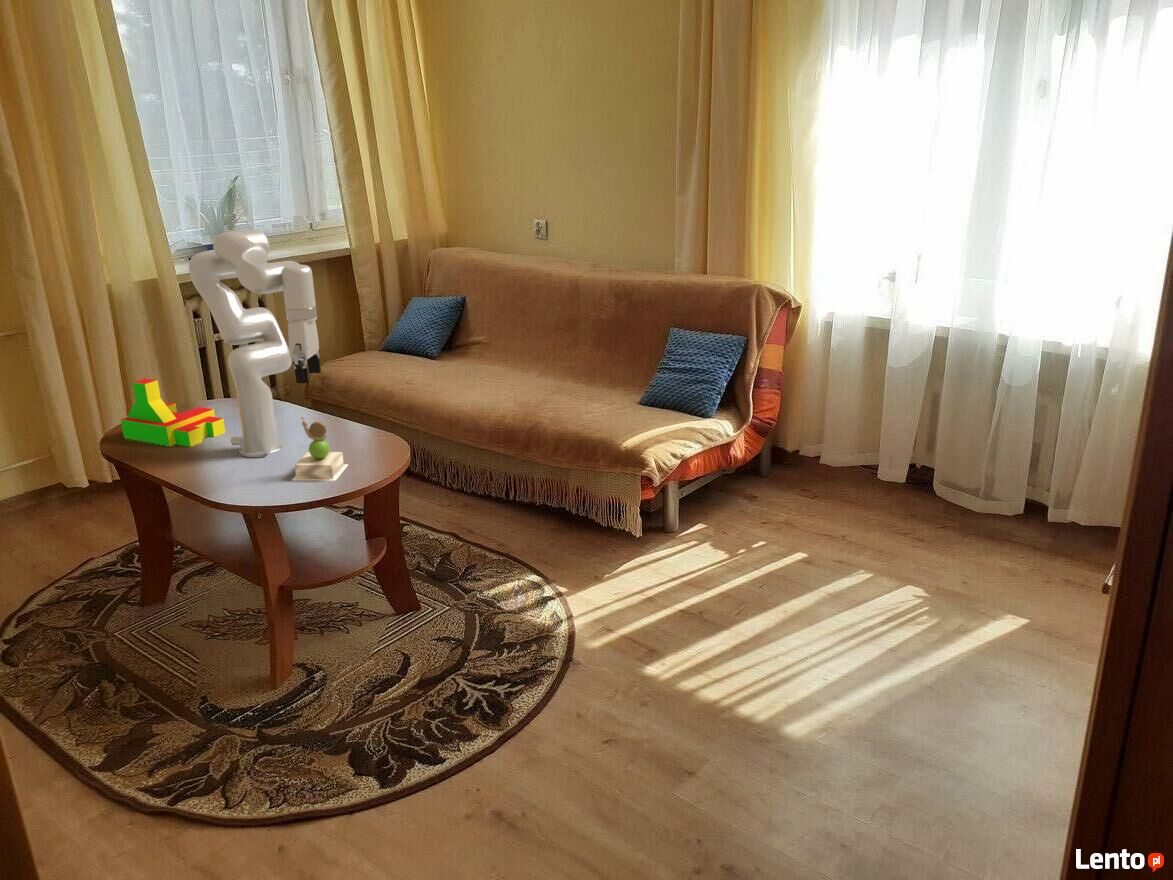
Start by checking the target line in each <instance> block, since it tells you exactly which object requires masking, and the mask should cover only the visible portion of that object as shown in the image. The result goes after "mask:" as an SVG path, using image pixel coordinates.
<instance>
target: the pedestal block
mask: <svg viewBox="0 0 1173 880" xmlns="http://www.w3.org/2000/svg"><path fill="white" fill-rule="evenodd" d="M344 463H345V462H344V455H343V452H342V451H329V453H328V455H327V456H326V457H325V458H322V459H316V458H314V457H312V456H311V454H310V452H309V451H307V452H305V454H303V455H302V457H301V458H300V459H299V460H298V461H297V462H296V463H295V464H294V471H295V476H296V479H333V478H334V477H335V476H336V475H337V474H338V472H339V471H340V470H341V469H342V467H343V466H344Z"/></svg>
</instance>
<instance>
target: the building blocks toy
mask: <svg viewBox="0 0 1173 880" xmlns="http://www.w3.org/2000/svg"><path fill="white" fill-rule="evenodd" d="M132 387H133V392H134V393H133V394H134V399H135V401H134V403H133V405H132V407H131V410H129V412H128V414H127V416H126V417H124V418H121V419H120V424H121V428H122V429H121V430H122V434H123V439H124V438H129V439H135V440H140V441H145V442H150V443H149V444H151V443H155V444H154V445H157V444H160V445H159V446H162V445H165V446H164V447H168V446H170V447H173V446H176V445H177V444H178V446H184V447H194V446H196V445H198V444H201V443H203V439H204V438H207V437H211V438H216V437H219V436H221V435H223V434H225V433H226V426H225V420H224V418H222V417H216V414H215V409H214V408H209V407H201V406H198V407H196V408H194V409H191V410H188V411H187V410H186V411H185V412H178V410H177V405H176V404H177V403H175V402H167V403H165V402H164V401H163V399H162V398H161V391H160V386H159V381H158V380H157V379H151V378H142V379H139V380H136V381H133V382H132ZM145 442H144V443H145ZM175 444H176V445H175Z"/></svg>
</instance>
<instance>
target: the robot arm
mask: <svg viewBox="0 0 1173 880" xmlns="http://www.w3.org/2000/svg"><path fill="white" fill-rule="evenodd" d="M212 247H213V249H210V250H204V251H201V252H198V253H196V254H194V255H193V256H192V257H190V260H189V263H188V272H189V276H190V278H191V282H192V284H193V286H194V288H195V289H196V291H197V292H198V293H199V295H200V296H201V297H202V298H203V300H204V301H205V303H206V305H207V307H208V309H209V311H210V314H211V316H212V318H213V320H214V322H215V324H216V327H217V330H218V331H219V333H220V336H221V337H222V339H223V340H224V341H225V342H224V343H226V344H228V345H230V346H237V345H242V344H243V346H240V347H237V348H234V349H232V351H231V352H230V354H229V355H228V357H227V358H228V359H227V362H228V363H227V364H228V367H229V370H230V373H231V376H232V380H233V384H234V387H235V392H236V398H237V403H238V413H239V419H240V427H241V430H242V431H241V433H242V435H241V436H231V437H230V443H231V445H232V446H240V447H239V454H240V455H241V456H243V457H247V458H264V457H266V456H268V455H269V454H270V453H274V452H278V451H280V450H281V449H282V448H285V443H284V442H283V441H281V440H279V438H278V429H277V423H276V416H275V415H276V414H275V408H274V400H273V393H272V390H271V388H270V387H269V386H268V385H267V383H265V382H264V381H263V379H262V378H265V377H267V376H271V375H276V374H280V373H283V372H287V371H288V370H289V369H290V368H291V366H292V364H293V369H294V373H295V374H294V376H295V381H296V383H297V384H309V383H310V380H309V378H310V377H309V374H321V372H322V368H321V362H320V360H321V359H320V356H321V355H320V353H319V350H320V345H319V344H320V342H319V335H318V328H317V323H316V320H318V314H317V305H316V296H315V286H314V277H313V276H314V275H313V271H312V268H311V267H310V266H309V265H306V264H300V263H298V262H297V261H294V260H284V261H276V262H268V255H269V253H270V242H269V239H268V237H267V235H266V234H265V233H264V232H263V231H261V230H259V229H256V228H249V229H248V228H247V229H246V228H245V229H239V230H238V229H237V230H228V231H224V232H222V233H219V235H217V236H216V237H215V239H214V240H213V246H212ZM236 278H237V279H238V281H239V283H240V284H241V285H242V286H243V287H244V288H245V289H247V290H248V291H250V292H252V293H254V294H257V295H266V294H272V293H280V292H283V298H284V305H285V314H286V321H287V322H288V324H287V325H288V326H287V327H288V328H287V334H288V336H287V337H288V343H287V341H286V339H285V337H284V335H283V332H282V330H281V328H280V326H279V323H278V321H277V318H276V317H275V315H274V313H272V311H270V310H269V309H268V308H266V307H261V306H260V307H251V308H244V307H243V305H242V303H241V300H240V298H239V297H238V295H237V294H236V292H235V291H233V289H231V288H230V287H229V286H227V284H224V283H223V282H221V281H222V280H228V279H229V280H230V279H236ZM253 342H259V343H253ZM249 343H253V344H249ZM244 344H247V345H244Z"/></svg>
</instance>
